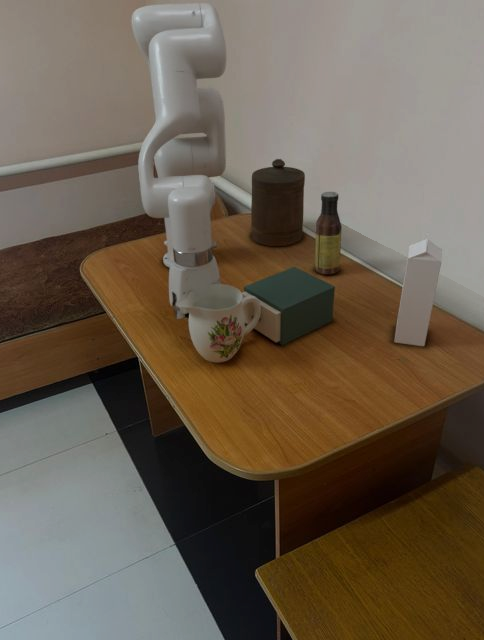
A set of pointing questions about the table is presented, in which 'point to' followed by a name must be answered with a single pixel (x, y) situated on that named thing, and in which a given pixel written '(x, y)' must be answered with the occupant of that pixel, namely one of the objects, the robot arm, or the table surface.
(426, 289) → the milk
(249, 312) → the drawer
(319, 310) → the cabinet
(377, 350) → the table surface
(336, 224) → the sauce bottle
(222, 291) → the pitcher
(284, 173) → the wooden container
